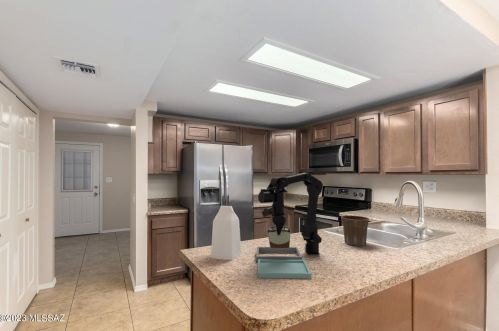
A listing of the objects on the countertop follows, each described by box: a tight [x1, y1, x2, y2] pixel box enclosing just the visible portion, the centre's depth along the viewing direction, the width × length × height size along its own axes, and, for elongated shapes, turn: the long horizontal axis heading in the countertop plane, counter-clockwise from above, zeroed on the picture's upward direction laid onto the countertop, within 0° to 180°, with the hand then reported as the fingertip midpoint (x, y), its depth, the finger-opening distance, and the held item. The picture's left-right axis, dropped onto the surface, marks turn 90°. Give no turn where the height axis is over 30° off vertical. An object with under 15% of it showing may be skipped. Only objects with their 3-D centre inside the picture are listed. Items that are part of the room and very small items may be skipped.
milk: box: [210, 205, 242, 261], centre depth 134 cm, size 12×12×26 cm
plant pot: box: [340, 214, 370, 247], centre depth 156 cm, size 16×16×16 cm
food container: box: [266, 224, 293, 249], centre depth 127 cm, size 12×6×10 cm, turn 83°
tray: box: [256, 259, 312, 280], centre depth 113 cm, size 22×17×2 cm
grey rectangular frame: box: [255, 246, 303, 264], centre depth 131 cm, size 22×17×3 cm
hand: (278, 233), depth 126 cm, fingers closed on food container, 6 cm apart
